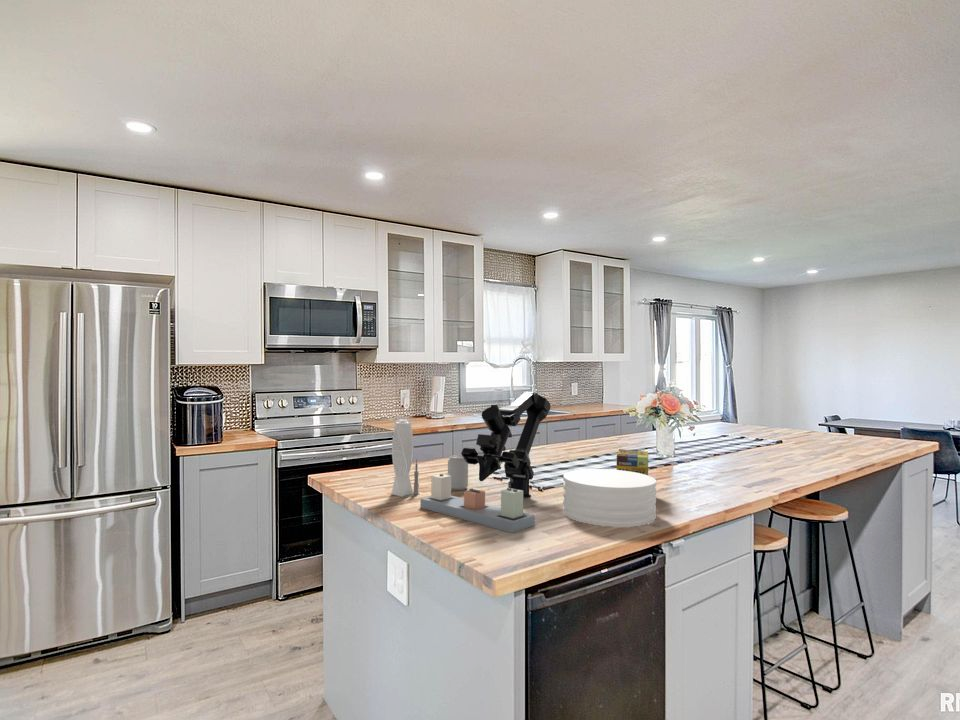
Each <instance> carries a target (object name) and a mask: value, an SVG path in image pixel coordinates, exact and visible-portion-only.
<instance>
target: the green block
mask: <svg viewBox="0 0 960 720" xmlns="http://www.w3.org/2000/svg"><path fill="white" fill-rule="evenodd" d="M500 507H501V516H505V517H509V518H516V517H519V516H523V513H524V497H523V491H522V490H517V489H513V488H508V487H507V488H506V489H502V490H501V491H500Z"/></svg>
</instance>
